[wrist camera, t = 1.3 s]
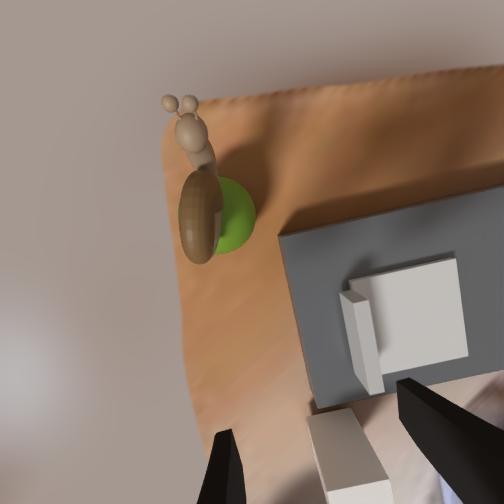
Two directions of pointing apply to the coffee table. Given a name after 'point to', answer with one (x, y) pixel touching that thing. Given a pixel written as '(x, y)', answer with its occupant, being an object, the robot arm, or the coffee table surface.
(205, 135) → the snail figurine
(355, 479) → the plug
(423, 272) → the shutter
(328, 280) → the socket plate
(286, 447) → the coffee table surface
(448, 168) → the coffee table surface
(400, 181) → the coffee table surface
